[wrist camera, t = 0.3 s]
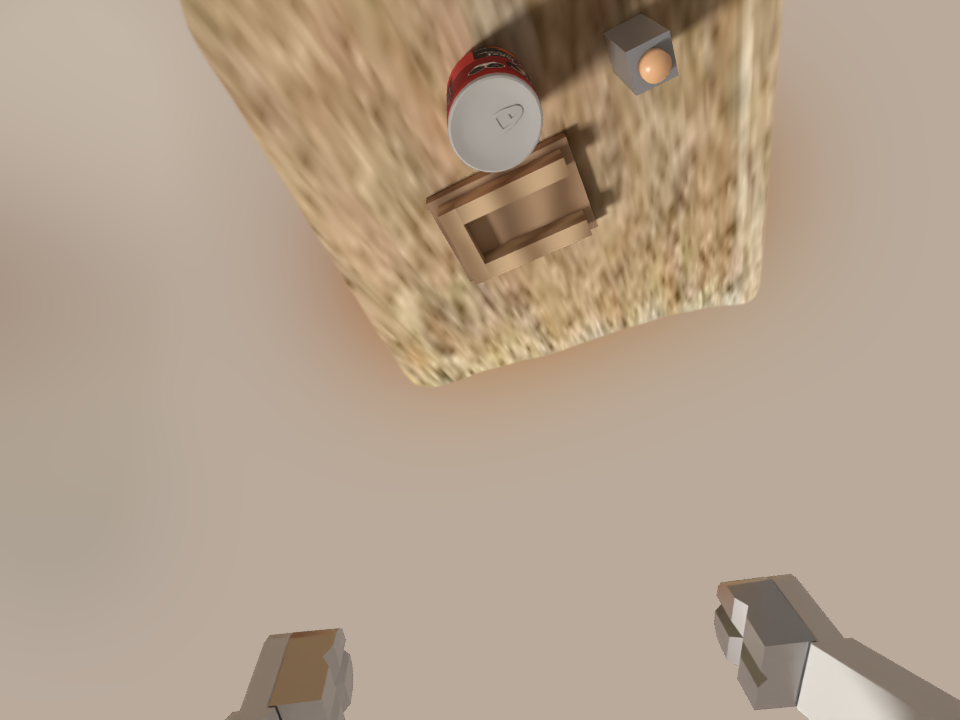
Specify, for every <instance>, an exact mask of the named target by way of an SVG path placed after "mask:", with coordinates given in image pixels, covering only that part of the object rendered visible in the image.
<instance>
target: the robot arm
mask: <svg viewBox="0 0 960 720" xmlns="http://www.w3.org/2000/svg"><path fill="white" fill-rule="evenodd" d="M717 597H718V599H719V601H720V602H721V605H720V606H719V607H718V608H717V609H716V611H715V620H714V624H715V629H716V635H717V638H718V641H719V643H720V646H721V648H722V650H723V652H724V654H725V656H726V658H727V659H729V660H730V661H731V662H733V663H734V664H735V665H737V666H738V667H739V671H738V681H739V682H740V684H741V686H742V688H743V690H744V692H745V694H746V695H747V697H748V699H749V700H750V703H751V705H752V706H753V708H754V710H761V709H772V708H783V707H794V706H797V709H798V710H799V711H800V712H801V713H803V714H804V715H805V716H806V717H807V718H809V719H810V720H960V700H958V699H956V698H955V697H953V696H951V695H950V694H947V693H946V692H944V691H943V690H941V689H939V688H937V687H935V686H934V685H932V684H931V683H929V682H927V681H925V680H924V679H922V678H920V677H918V676H916V675H915V674H913V673H912V672H910V671H908V670H906V669H905V668H903V667H901V666H899V665H898V664H896V663H894V662H893V661H891V660H889V659H887V658H886V657H884V656H882V655H880V654H879V653H877V652H875V651H874V650H872V649H870V648H868V647H867V646H865V645H863V644H861V643H860V642H858V641H856V640H855V639H853V638H844V637H843V636H842V635H841V633H840V632H839V631H838V630H837V628H836V627H835V626H834V625H833V623H832V622H831V621H830V620H829V618H828V617H827V616H826V615H825V613H824V612H823V611H822V609H821V608H820V607H819V606H818V604H817V603H816V602H815V601H814V599H813V598H812V597H811V596H810V595H809V593H808V592H807V591H806V589H805V588H804V587H803V586H802V585H801V583H800V582H799V581H798V579H797V578H796V577H794V576H793V575H791V574H786V575H778V576H770V577H759V578H752V579H744V580H736V581H729V582H721V583H720V585H719V586H718V590H717ZM344 646H345V636H344V633H343V630H342V629H339V628H337V629H326V630H315V631H304V632H293V633H285V634H275V635H269V637H268V638H267V640H266V641H265V642H264V645H263V647H262V650H261V653H260V656H259V659H258V661H257V664H256V667H255V670H254V672H253V675H252V678H251V681H250V684H249V686H248V689H247V692H246V695H245V698H244V700H243V703H242V706H241V709H240V711H238V712H232V713H231V714H230V715H229V716H228V717H227V718H226V719H225V720H345V718H344V714H343V712H344V711H345V710H346V709H347V707H348V706H349V705H350V703H351V697H352V690H353V668H352V661H351V657H350V654H348V653H347V652H346V651H344Z"/></svg>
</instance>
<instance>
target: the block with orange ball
mask: <svg viewBox="0 0 960 720" xmlns="http://www.w3.org/2000/svg"><path fill="white" fill-rule="evenodd" d="M603 35H604V39H605V42H606V46H607V50H608V53H609V57H610V61H611V64H612V68H613V72H614V73H615V74H616V75H617V76H618V77H619V78H620V79H621V80H622V81H623V82H624V83H625V84H626V85H627V86H628V87H629V88H630V90H631V91H632V92H633V93H634V94H635V95H636V96H637V95H639V94H641V93H643V92H645V91H647V90H649V89H651V88H653V87H655V86H657V85H659V84H661V83H663V82H666V81H668V80H670V79H672V78H674V77H676V76H678V70H677V65H676V60H675V55H674V50H673V45H672V40H671V35H670V30H668V29H667V28H665V27H663V26H662V25H660V24H658V23H657V22H655V21H653V20H652V19H650V18H648V17H647V16H645V15H643V14H642V13H640V14H639V15H637V16H635V17H633V18H631V19H629V20H627V21H625V22H623V23H621V24H619V25H618V26H616V27H614V28H612V29H610V30H608V31H606V32H604V33H603Z"/></svg>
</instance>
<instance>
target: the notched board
mask: <svg viewBox="0 0 960 720" xmlns="http://www.w3.org/2000/svg"><path fill="white" fill-rule="evenodd" d="M426 205H427V207H428V208H429V210H430V212H431V213H432V215H433V217H434V219H435V220H436V222H437V224H438V226H439V227H440V229H441V231H442V233H443V234H444V236H445V238H446V239H447V241H448V243H449V245H450V246H451V248H452V250H453V252H454V253H455V255H456V257H457V259H458V260H459V262H460V264H461V265H462V267H463V269H464V271H465V272H466V274H467V276H468V278H469V279H470V281H473V280H474V281H475V283H476V285H477V284H479V283H481V282H484V281H486V280H488V279H491V278H493V277H495V276H498V275H500V274H502V273H505V272H507V271H509V270H512V269H514V268H516V267H519V266H521V265H523V264H526V263H528V262H530V261H533V260H535V259H537V258H540V257H542V256H544V255H547V254H549V253H551V252H554V251H556V250H558V249H560V248H563V247H565V246H567V245H570V244H572V243H574V242H577V241H579V240H581V239H584V238H586V237H588V236H591V235H592V233H591V231H590V230H591V229H593V228H595V227H598V225H597V222H596V220H595V217H594V214H593V211H592V208H591V205H590V203H589V200H588V197H587V194H586V191H585V189H584V186H583V183H582V180H581V177H580V174H579V172H578V169H577V166H576V163H575V160H574V158H573V155H572V152H571V149H570V146H569V143H568V141H567V138H566V136H565V134H564V132H562V133H560V134H558V135H556V136H554V137H552V138H550V139H547V140H545V141H543V142H541V143H539V144H537V145H536V146H535V148H534V150H533V151H532V152H531V154H530V155H529V156H528V157H527V158H526V159H525V160H524V161H522V162H521V163H520V164H518V165H517V166H515V167H513V168H511V169H508V170H505V171H501V172H483V171H482V172H480V173H478V174H476V175H473V176H471V177H469V178H467V179H465V180H463V181H461V182H459V183H457V184H455V185H453V186H451V187H449V188H447V189H445V190H443V191H441V192H438V193H436V194H434V195H432V196H430V197H428V198H426Z"/></svg>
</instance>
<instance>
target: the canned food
mask: <svg viewBox="0 0 960 720" xmlns="http://www.w3.org/2000/svg"><path fill="white" fill-rule="evenodd" d="M542 126H543V112H542V107H541V103H540V100H539V98H538V96H537V93H536V91H535V89H534V87H533V85H532V83H531V81H530V79H529V77H528V75H527V73H526V71H525V69H524V67H523V65H522V64H521V62H520V61H519V60H518V58H517V57H515V56H514V55H513V54H512V53H510V52H509V51H507V50H505V49H502V48H498V47H483V48H478V49H476V50H473V51H471V52H470V53H468V54H467V55H465V56H464V57H463V58H462V59H461V60H460V61H459V62H458V63H457V64H456V66H455V67H454V69H453V71H452V73H451V75H450V77H449V81H448V85H447V128H448V135H449V139H450V142H451V145H452V147H453V149H454V151H455V153H456V154H457V156H458V157H459V158H460V159H461V160H462V161H463V162H464V163H465V164H467V165H468V166H470V167H472V168H474V169H476V170H479V171H483V172H501V171H505V170H508V169H511V168H513V167H515V166H517V165H518V164H520V163H521V162H522V161H524V160H525V159H526V158H527V157H528V156H529V155H530V154H531V152H532V151H533V150H534V148H535V146H536V145H537V143H538V141H539V138H540V135H541V132H542Z"/></svg>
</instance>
